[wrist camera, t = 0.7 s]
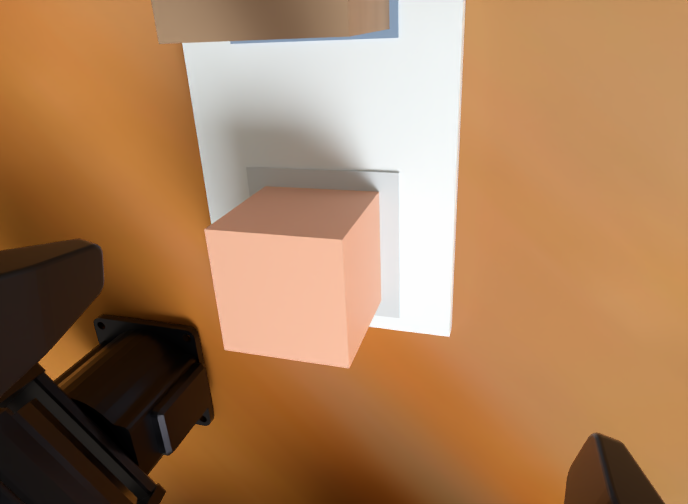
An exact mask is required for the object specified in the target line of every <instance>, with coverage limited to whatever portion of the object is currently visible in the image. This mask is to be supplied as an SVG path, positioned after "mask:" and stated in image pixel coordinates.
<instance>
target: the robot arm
mask: <svg viewBox="0 0 688 504" xmlns="http://www.w3.org/2000/svg"><path fill="white" fill-rule="evenodd" d="M103 286H104V266H103V252H102V249H101V247H100V246H98V245H97V244H94V243H92V242H89V241H86V240H84V239H72V240H66V241H60V242H53V243H47V244H41V245H34V246H28V247H22V248H15V249H9V250H3V251H0V504H160V502H161V500H162V498H163V496H164V495H165V493H166V490H165V489H164V488H163V487H162V486H161V485H160V484H159V483H158V484H156V483H155V482H154V481H153V480H152V479H151V478H150V477H149V476H148V474H149V473H150V471H151V470H152V469H153V468H154V466H155V465H156V464H157V463H158V461H159V460H160V459H161V458H162V456H163V455H170V454H171V453H173V452H174V451H175V449H176V448H177V447H178V445H179V444H180V443H181V442H182V440H183V439H184V438H185V436H186V435H187V434H188V433H189V431H190V430H191V429H192V427H193V426H194V425H195V424H199V425H204V426H207V425H209V424H210V423H211V422H212V420H213V419H214V412H213V407H212V400H211V394H210V389H209V384H208V378H207V373H206V368H205V365H204V360H203V354H202V349H201V344H200V338H199V334H198V332H197V331H196V329H194V328H193V327H191V326H185V325H178V324H170V323H163V322H156V321H149V320H141V319H134V318H127V317H119V316H112V315H105V314H103V315H100V316H99V317H97V318H96V319H95V320H94V326H95V330H96V333H97V337H98V341H99V345H98V346H96V347H95V348H94V349H93V350H92V351H90V352H89V353H88V354H87V355H85V356H84V357H83V358H82V359H80V360H79V361H78V362H77V363H75V364H74V365H73V366H72V367H70V368H69V369H68V370H67V371H65V372H64V373H63V374H62V375H60V376H59V377H58V378H57V379H55V380H54V381H53V380H52V379H51V378H50V377H49V376H48V375H47V374H46V373H45V371H46V370H45V369H44V368H43V367H42V366H41V365H40V364H39V363H38V361H39V360H40V359H42V358H43V357H44V356H45V355H46V354H47V353H48V352H49V350H50V349H51V348H52V347H53V346H54V345H55V344H56V343H57V342H58V341H59V339H60V338H61V337H62V336H63V335H64V334H65V333H66V332H67V330H68V329H69V328H70V327H71V326H72V325H73V324H74V322H75V321H76V320H77V319H78V318H79V317H80V316H81V315H82V313H83V312H84V311H85V310H86V309H87V308H88V307H89V305H90V304H91V303H92V302H93V301H94V300H95V299H96V297H97V296H98V295H99V294H100V292H101V291H102V288H103ZM188 335H189V336H190V337H189V336H188ZM564 504H665V503H664V501H663V500H662V499H661V497H660V496H659V494H658V493H657V491H656V490H655V488H654V487H653V486H652V484H651V483H650V481H649V480H648V478H647V477H646V475H645V474H644V473H643V471H642V470H641V468H640V467H639V465H638V464H637V462H636V461H635V460H634V458H633V457H632V455H631V454H630V452H629V451H628V449H627V448H626V447H625V445H624V444H623V443H622V442H620V441H619V440H616V439H614V438H611V437H608V436H606V435H603V434H600V433H593V434H591V435H590V436H589V437H588V439H587V441H586V442H585V444H584V445H583V447H582V449H581V450H580V452H579V453H578V455H577V457H576V458H575V460H574V462H573V463H572V465H571V467H570V469H569V472H568V476H567V482H566V491H565V500H564Z"/></svg>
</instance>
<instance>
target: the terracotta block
mask: <svg viewBox="0 0 688 504" xmlns="http://www.w3.org/2000/svg"><path fill="white" fill-rule="evenodd" d="M204 230H205V236H206V242H207V248H208V254H209V260H210V266H211V272H212V278H213V284H214V290H215V296H216V302H217V308H218V314H219V320H220V325H221V331H222V337H223V343H224V349H225V350H229V351H235V352H242V353H249V354H256V355H262V356H269V357H276V358H283V359H289V360H296V361H303V362H310V363H316V364H323V365H330V366H337V367H343V368H349V367H350V365H351V363H352V361H353V359H354V357H355V355H356V353H357V351H358V349H359V346H360V344H361V342H362V340H363V338H364V336H365V334H366V332H367V330H368V328H369V325H370V323H371V321H372V319H373V317H374V315H375V313H376V311H377V309H378V307H379V304H380V302H381V260H380V212H379V192H376V191H355V190H334V189H313V188H293V187H272V186H265V187H263V188H262V189H261V190H259V191H258V192H256V193H255V194H253V195H252V196H251V197H249V198H248V199H246V200H245V201H244V202H242V203H241V204H239V205H238V206H237V207H235V208H234V209H232V210H231V211H230V212H228V213H227V214H225V215H224V216H222V217H221V218H220V219H218V220H217V221H215V222H214V223H213V224H211V225H210V226H208V227H207V228H206V229H204Z"/></svg>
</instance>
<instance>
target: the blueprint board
mask: <svg viewBox="0 0 688 504" xmlns="http://www.w3.org/2000/svg"><path fill="white" fill-rule="evenodd" d="M465 2H466V0H389V26H390V29H387V30H381V31H376V32H371V33H366V34H360V35H355V36H350V37H327V38H300V39H274V40H248V41H222V42H196V43H182V45H183V51H184V57H185V64H186V70H187V76H188V82H189V88H190V95H191V101H192V107H193V113H194V119H195V126H196V132H197V138H198V144H199V150H200V157H201V163H202V169H203V175H204V181H205V188H206V194H207V200H208V206H209V213H210V219H211V224H213V223H214V222H215V221H217V220H218V219H220V218H221V217H222V216H224V215H225V214H227V213H228V212H230V211H231V210H232V209H234V208H235V207H237V206H238V205H239V204H241V203H242V202H244V201H245V200H246V199H248V198H249V197H251V196H252V195H253V194H255V193H256V192H258V191H259V190H261V189H262V188H263V187H265V186H272V187H293V188H313V189H334V190H355V191H376V192H379V212H380V260H381V302H380V304H379V307H378V309H377V311H376V313H375V315H374V317H373V319H372V321H371V323H370V325H369V327H376V328H384V329H392V330H400V331H408V332H416V333H424V334H432V335H440V336H449V337H450V332H451V327H452V306H453V283H454V260H455V236H456V213H457V189H458V166H459V142H460V119H461V96H462V72H463V49H464V25H465Z"/></svg>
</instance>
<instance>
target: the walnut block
mask: <svg viewBox="0 0 688 504" xmlns="http://www.w3.org/2000/svg"><path fill="white" fill-rule="evenodd" d="M151 2H152V8H153V13H154V19H155V25H156V30H157V36H158V42H159V44H170V43H196V42H222V41H248V40H274V39H300V38H327V37H350V36H355V35H360V34H366V33H371V32H376V31H381V30H387V29H390V26H389V0H151Z"/></svg>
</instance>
